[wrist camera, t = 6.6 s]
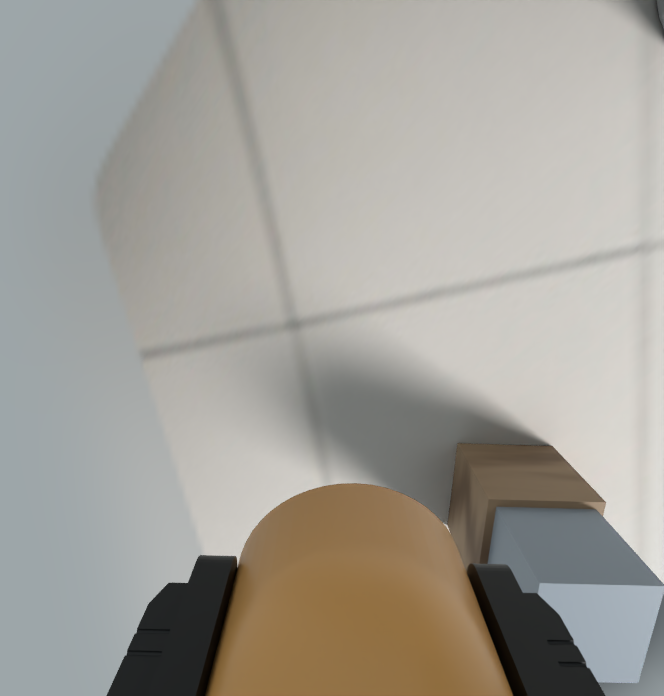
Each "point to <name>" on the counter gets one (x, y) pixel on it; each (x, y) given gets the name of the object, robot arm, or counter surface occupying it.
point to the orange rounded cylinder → (353, 604)
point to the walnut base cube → (508, 490)
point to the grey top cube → (583, 582)
